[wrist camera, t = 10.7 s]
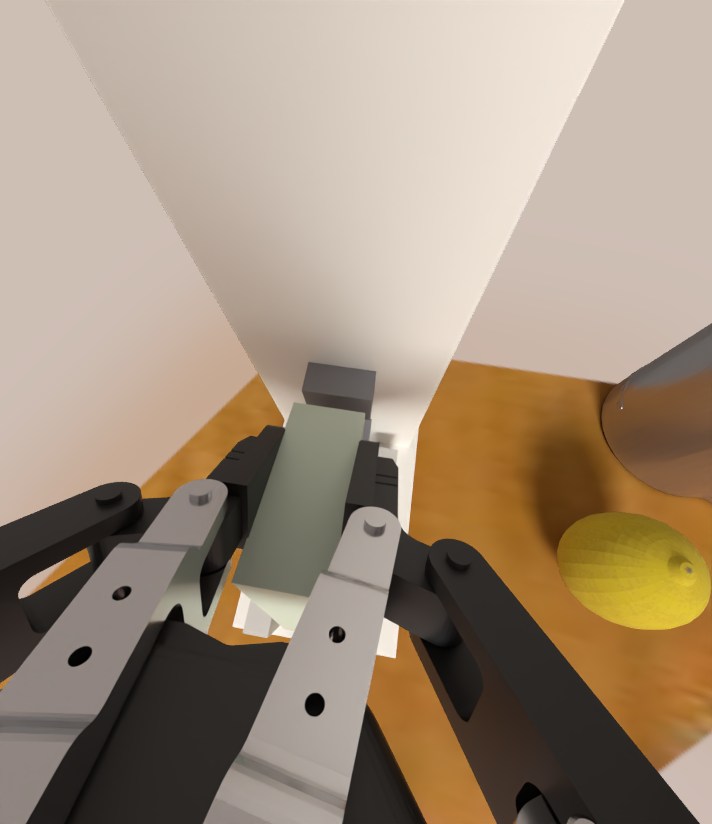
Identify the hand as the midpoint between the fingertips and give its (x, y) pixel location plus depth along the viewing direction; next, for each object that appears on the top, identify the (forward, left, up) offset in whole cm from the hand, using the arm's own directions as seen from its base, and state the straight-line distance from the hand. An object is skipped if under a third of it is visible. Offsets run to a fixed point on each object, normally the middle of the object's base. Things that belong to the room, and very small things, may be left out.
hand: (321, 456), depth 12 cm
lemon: (-14, -7, -12) cm, 20 cm away
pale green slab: (-2, +4, -9) cm, 10 cm away
